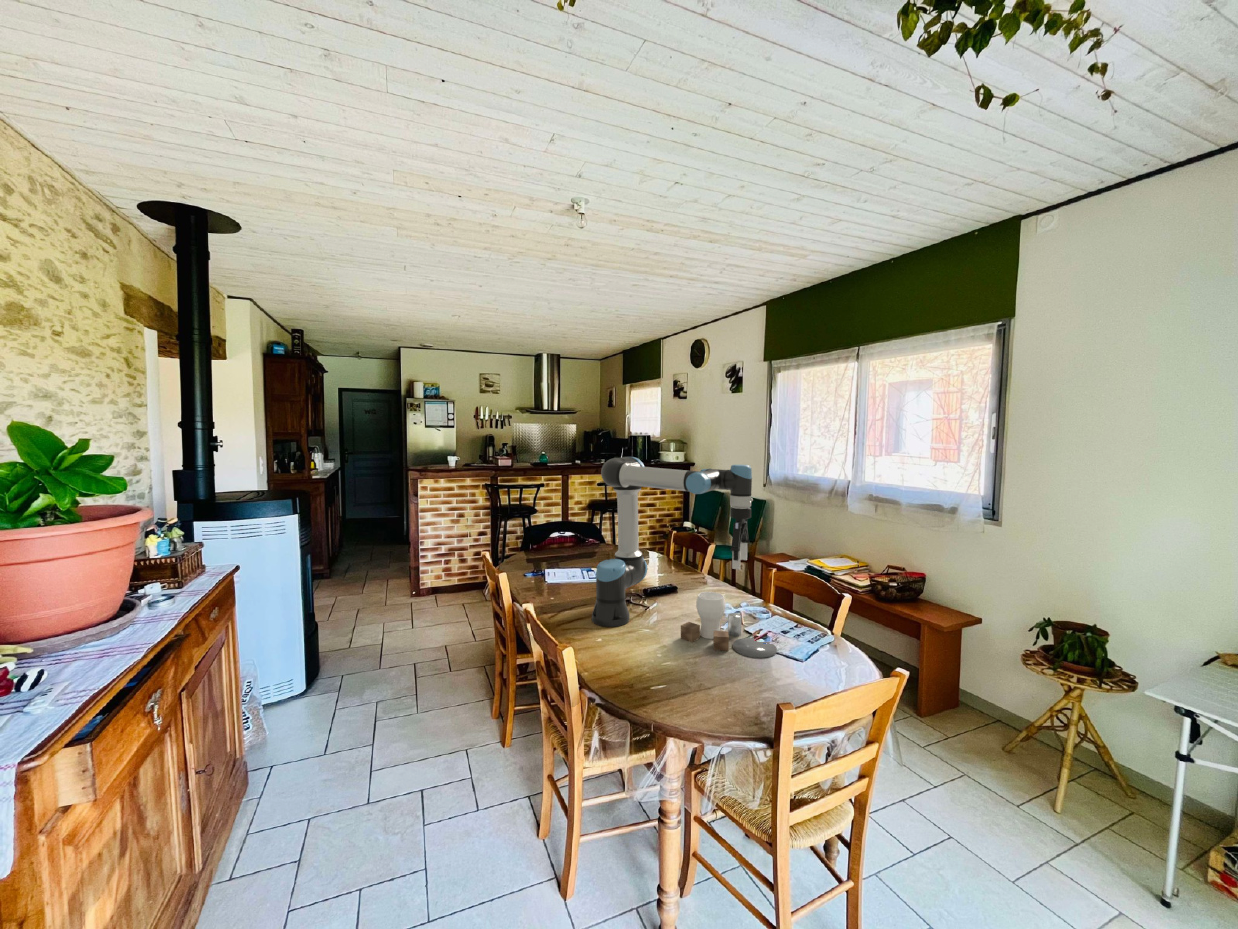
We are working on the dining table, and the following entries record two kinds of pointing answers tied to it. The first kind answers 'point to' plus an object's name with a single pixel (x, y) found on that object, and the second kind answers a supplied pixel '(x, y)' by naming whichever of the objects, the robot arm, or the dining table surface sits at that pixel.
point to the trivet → (754, 648)
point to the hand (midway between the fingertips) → (739, 564)
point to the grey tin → (734, 624)
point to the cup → (710, 612)
